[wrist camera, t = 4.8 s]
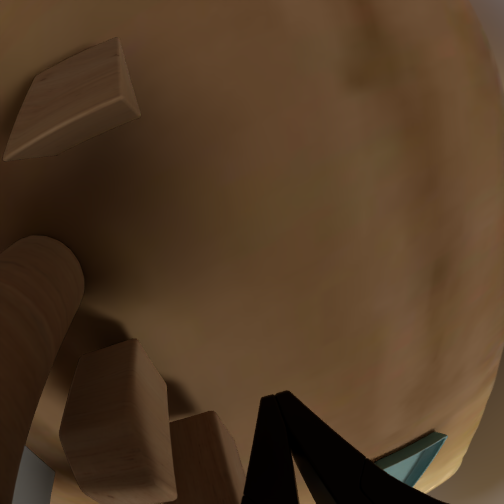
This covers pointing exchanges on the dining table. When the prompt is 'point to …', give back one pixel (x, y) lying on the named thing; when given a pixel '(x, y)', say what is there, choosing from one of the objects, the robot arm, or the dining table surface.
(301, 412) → the robot arm
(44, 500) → the board
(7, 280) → the wooden block set
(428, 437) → the shallow long dish
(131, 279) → the dining table surface
